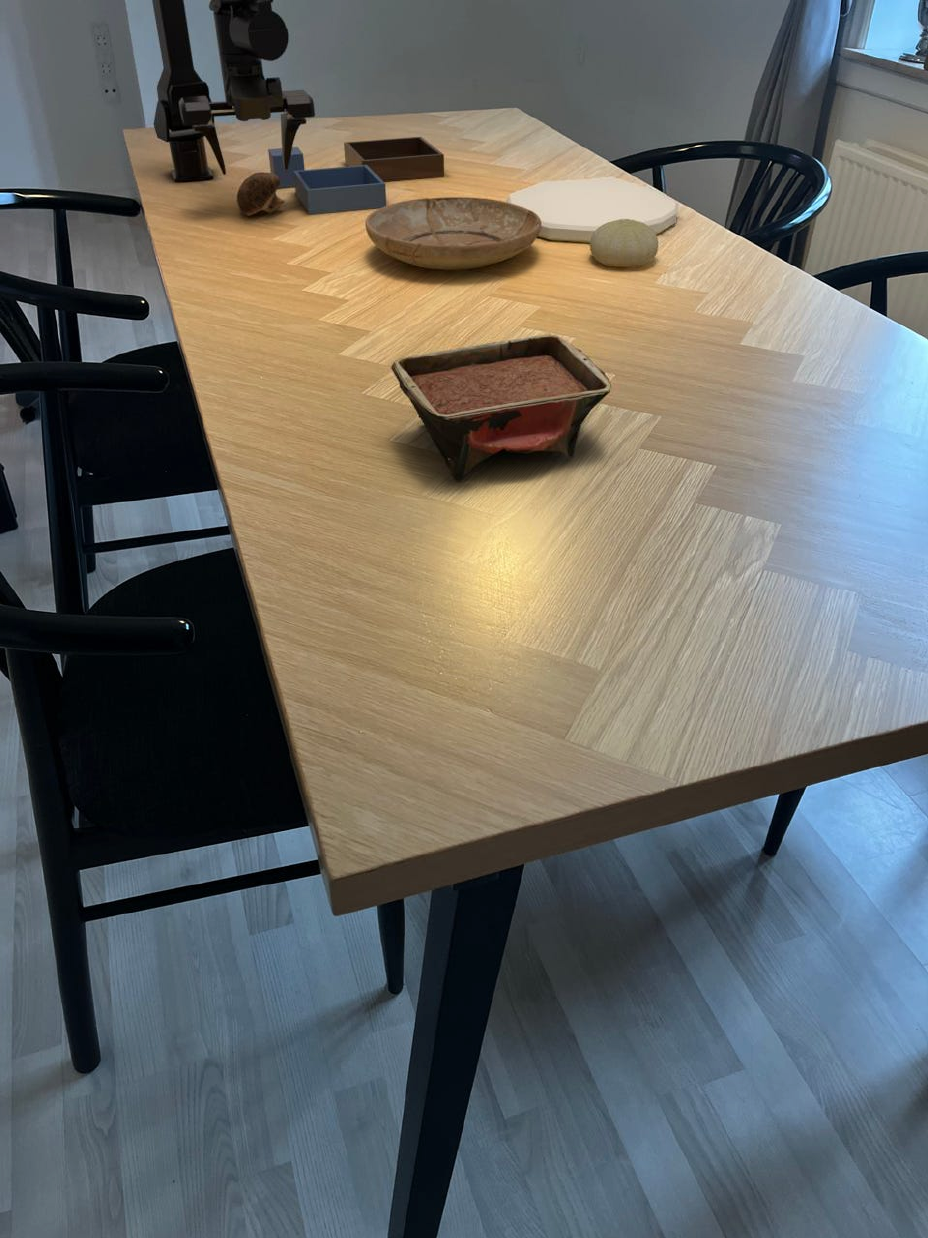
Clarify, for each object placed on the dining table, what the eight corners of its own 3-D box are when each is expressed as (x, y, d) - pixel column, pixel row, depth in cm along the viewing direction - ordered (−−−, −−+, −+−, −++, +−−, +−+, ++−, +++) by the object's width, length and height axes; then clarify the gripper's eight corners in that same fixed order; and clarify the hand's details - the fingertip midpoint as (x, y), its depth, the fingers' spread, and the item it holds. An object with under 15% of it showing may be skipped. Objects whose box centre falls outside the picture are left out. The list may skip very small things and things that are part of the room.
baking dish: (605, 487, 85) (629, 378, 79) (413, 490, 79) (425, 373, 74) (546, 427, 96) (564, 329, 91) (375, 426, 91) (383, 321, 85)
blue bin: (295, 193, 154) (292, 170, 152) (368, 187, 157) (367, 164, 154) (309, 214, 145) (306, 190, 143) (386, 207, 148) (385, 183, 145)
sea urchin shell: (676, 242, 127) (657, 207, 120) (647, 294, 127) (627, 262, 120) (620, 228, 132) (599, 193, 125) (592, 279, 132) (570, 247, 125)
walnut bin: (345, 163, 169) (343, 142, 167) (421, 157, 173) (421, 136, 170) (363, 183, 159) (362, 160, 157) (444, 176, 162) (443, 154, 160)
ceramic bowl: (544, 285, 120) (546, 244, 117) (359, 285, 120) (356, 245, 117) (536, 230, 138) (537, 193, 135) (375, 230, 138) (373, 194, 135)
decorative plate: (548, 220, 128) (486, 175, 146) (546, 252, 130) (486, 204, 149) (711, 203, 134) (633, 162, 152) (707, 234, 136) (630, 190, 155)
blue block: (271, 180, 160) (267, 148, 157) (301, 178, 161) (297, 146, 158) (276, 188, 156) (272, 155, 153) (306, 185, 158) (303, 153, 155)
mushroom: (302, 186, 145) (273, 152, 141) (282, 220, 141) (251, 186, 138) (270, 205, 150) (241, 173, 146) (250, 239, 147) (220, 207, 143)
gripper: (176, 63, 124) (197, 190, 134) (316, 56, 128) (327, 179, 138) (169, 51, 132) (190, 171, 142) (301, 44, 136) (313, 161, 146)
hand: (255, 171), depth 142 cm, fingers open, 9 cm apart
